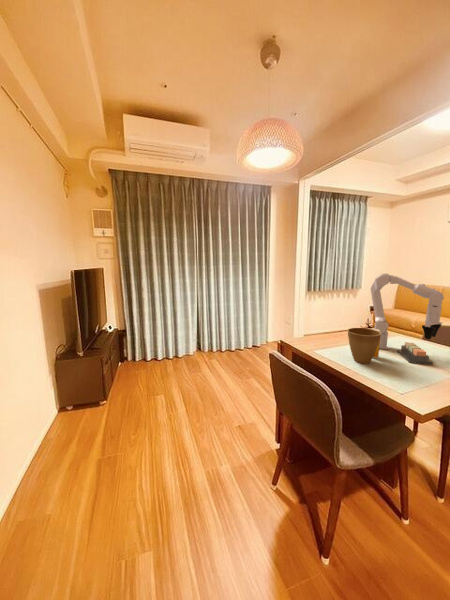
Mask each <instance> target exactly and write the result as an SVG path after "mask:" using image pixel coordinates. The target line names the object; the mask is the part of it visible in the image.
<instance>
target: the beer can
mask: <svg viewBox="0 0 450 600" xmlns="http://www.w3.org/2000/svg"><path fill="white" fill-rule="evenodd" d="M371 329H372V330H376V331H379V332H380V330H378V329H374V328H371ZM380 333H381V332H380ZM379 345H380V340H379V343H378V346H377V349H376V351H375V354H374V356H373V358H372V359H377V358H378V357H379V354H380V353H379V352H380V348H379Z"/></svg>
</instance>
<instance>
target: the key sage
mask: <svg viewBox="0 0 450 600" xmlns="http://www.w3.org/2000/svg"><path fill="white" fill-rule="evenodd" d="M413 349H422V348H421V347H420V346H419V345H417V346H411V345H409V349H408V350H409V351H411V352H413Z"/></svg>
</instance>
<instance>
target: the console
mask: <svg viewBox="0 0 450 600" xmlns="http://www.w3.org/2000/svg"><path fill="white" fill-rule="evenodd" d="M404 346H405V344H404V345H401V349H398V348H397V349H396V352H397V354H399V355H400V356H401V357H402V358H403V359H405V360H406V362H408V363H409V364H419V365H427V366H429V365H430V366H434V362H433V361H432V360H431V359H430V356H428V355H427V354H426V357H425V356H416V355H414V354H413V352H411V351H409V350H408V349H407V348H406V347H404Z"/></svg>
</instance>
